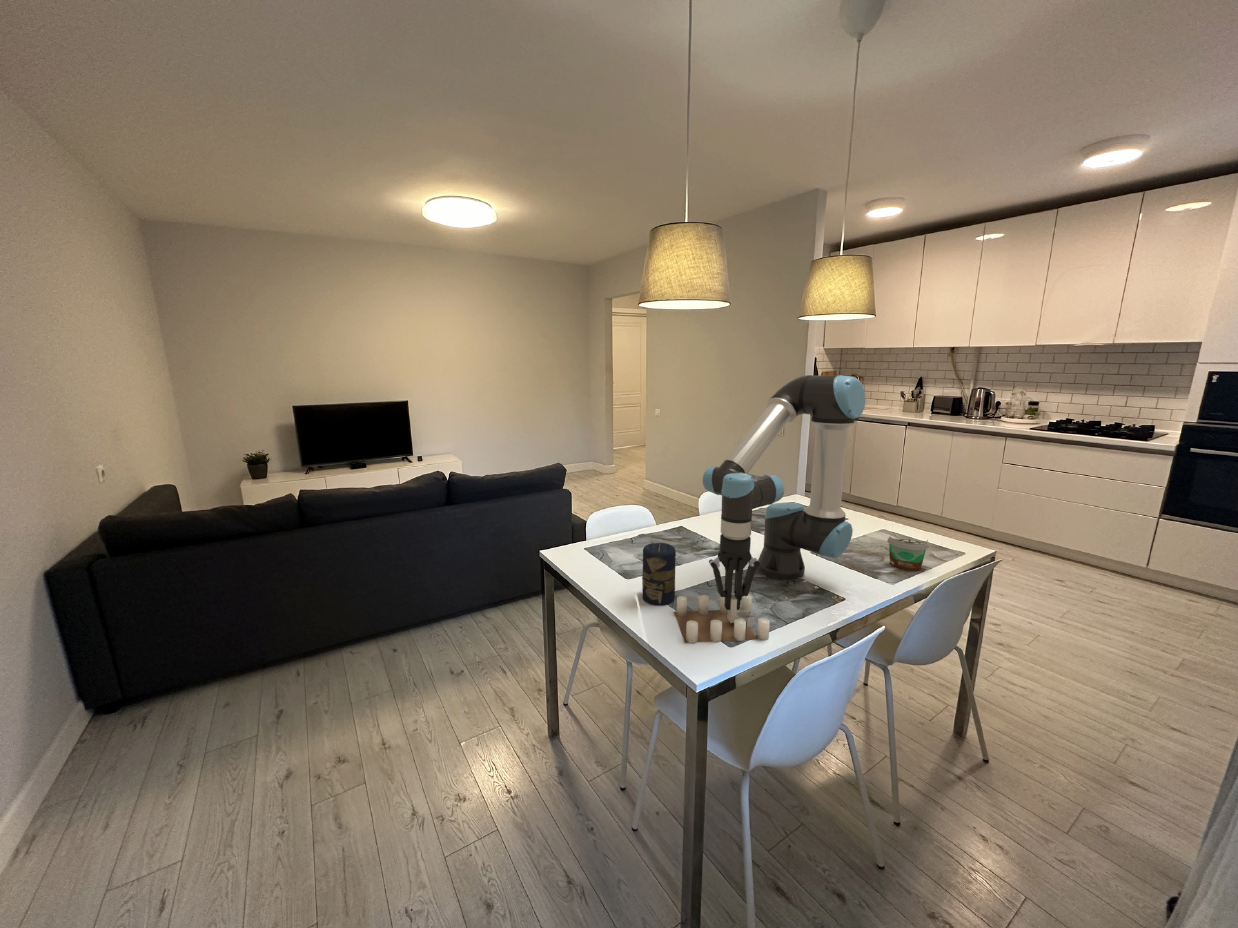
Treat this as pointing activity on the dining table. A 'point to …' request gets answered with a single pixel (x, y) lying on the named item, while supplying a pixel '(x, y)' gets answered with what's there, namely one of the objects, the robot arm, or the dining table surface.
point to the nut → (746, 617)
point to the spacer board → (705, 623)
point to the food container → (907, 553)
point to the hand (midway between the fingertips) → (731, 619)
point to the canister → (658, 574)
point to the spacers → (717, 624)
